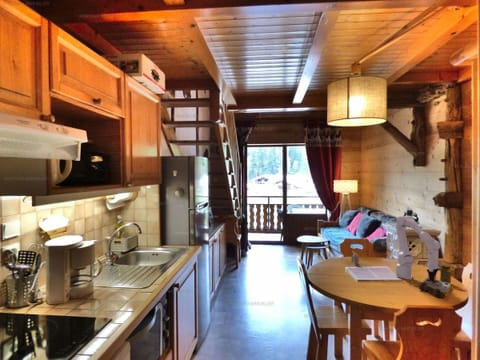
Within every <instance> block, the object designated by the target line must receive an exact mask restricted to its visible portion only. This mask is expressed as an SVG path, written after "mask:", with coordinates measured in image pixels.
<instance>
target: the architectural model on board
mask: <svg viewBox="0 0 480 360" xmlns="http://www.w3.org/2000/svg"><path fill="white" fill-rule="evenodd" d="M359 260H360V259H359V255H358V254H357V253H356V252H355V251H353V249H352V250H351V262H352V263H353V264H354V265H355V266H359V263H360V262H359Z"/></svg>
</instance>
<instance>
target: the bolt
mask: <svg viewBox="0 0 480 360" xmlns="http://www.w3.org/2000/svg"><path fill="white" fill-rule="evenodd" d="M418 288H419V290H420V291H425V292H429V293H431V294H433V295H432V296H434V297H436V298H437V297H439V298H441V299H444V298H445V297H446V294H445V293H446V292H441V291H440V289H434V288H432V287H429V286H427V284H426V283H425V282H423V281H422V282H420V283H419V285H418Z"/></svg>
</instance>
